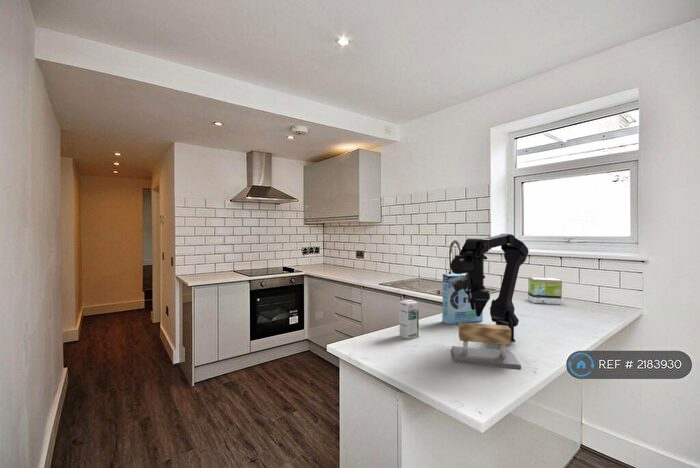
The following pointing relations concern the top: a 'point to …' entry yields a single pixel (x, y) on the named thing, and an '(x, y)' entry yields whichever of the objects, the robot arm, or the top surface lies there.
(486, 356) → the peg stand
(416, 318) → the syrup box
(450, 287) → the gum box
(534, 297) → the tea box
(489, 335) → the wooden block
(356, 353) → the top surface
